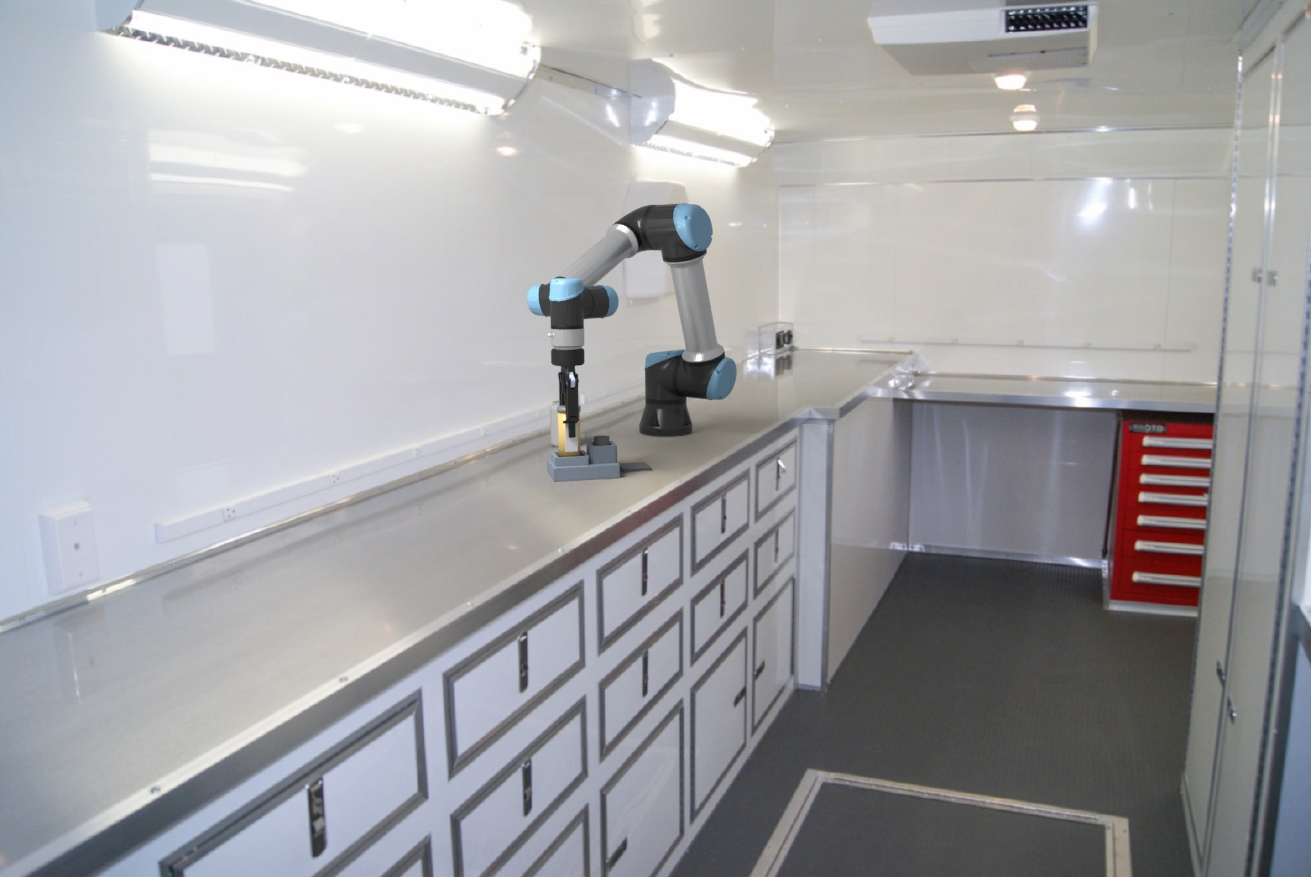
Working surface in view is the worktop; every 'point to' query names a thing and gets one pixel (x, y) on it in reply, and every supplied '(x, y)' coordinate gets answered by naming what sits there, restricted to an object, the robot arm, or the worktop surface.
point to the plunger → (601, 440)
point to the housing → (585, 464)
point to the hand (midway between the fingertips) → (569, 448)
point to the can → (554, 424)
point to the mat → (634, 466)
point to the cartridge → (562, 433)
